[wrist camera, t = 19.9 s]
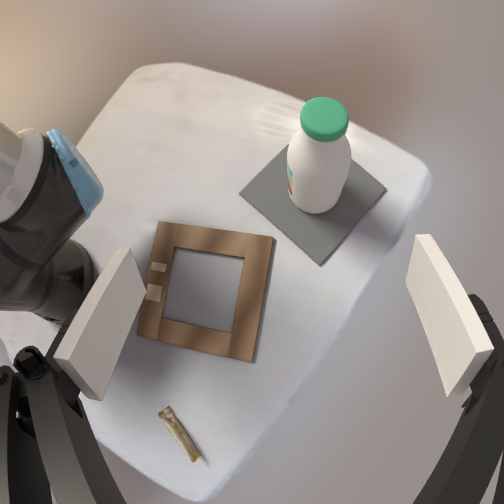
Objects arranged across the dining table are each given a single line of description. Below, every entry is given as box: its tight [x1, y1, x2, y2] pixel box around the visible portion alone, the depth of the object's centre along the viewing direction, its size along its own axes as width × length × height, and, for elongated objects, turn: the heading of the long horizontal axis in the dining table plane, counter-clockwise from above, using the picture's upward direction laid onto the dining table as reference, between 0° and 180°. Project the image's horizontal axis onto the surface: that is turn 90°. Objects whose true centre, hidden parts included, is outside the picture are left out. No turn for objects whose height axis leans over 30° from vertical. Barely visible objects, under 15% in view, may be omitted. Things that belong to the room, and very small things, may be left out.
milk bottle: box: [287, 97, 351, 214], centre depth 37 cm, size 8×8×20 cm
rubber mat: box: [239, 144, 386, 265], centre depth 47 cm, size 16×16×1 cm
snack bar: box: [158, 406, 201, 462], centre depth 42 cm, size 10×2×3 cm, turn 32°
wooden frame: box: [137, 221, 273, 362], centre depth 46 cm, size 18×18×1 cm
